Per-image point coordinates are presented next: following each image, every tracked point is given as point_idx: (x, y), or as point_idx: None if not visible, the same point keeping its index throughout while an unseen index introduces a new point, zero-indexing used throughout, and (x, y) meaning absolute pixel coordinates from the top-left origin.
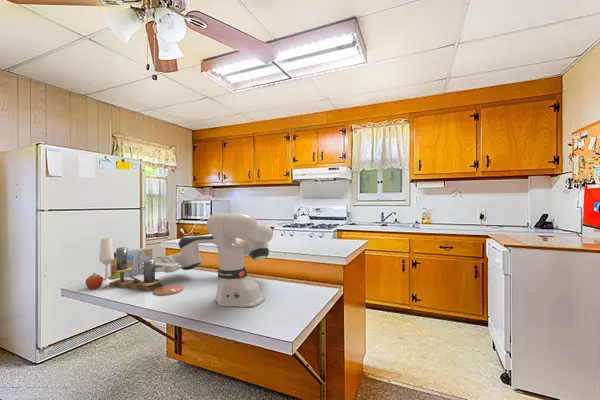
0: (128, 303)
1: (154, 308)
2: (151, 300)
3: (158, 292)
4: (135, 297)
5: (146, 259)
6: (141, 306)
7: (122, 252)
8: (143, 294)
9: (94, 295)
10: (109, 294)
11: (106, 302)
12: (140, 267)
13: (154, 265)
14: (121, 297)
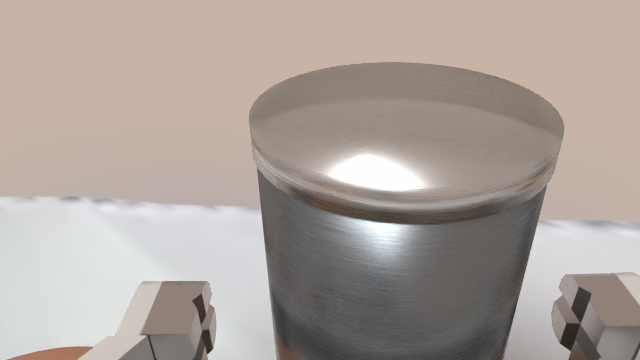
0: (234, 209)
1: (15, 204)
2: (98, 270)
3: (85, 350)
4: None
5: (546, 114)
6: (116, 203)
7: None
8: (266, 340)
9: (624, 229)
10: (556, 265)
11: None
12: (631, 273)
13: (271, 272)
14: None
